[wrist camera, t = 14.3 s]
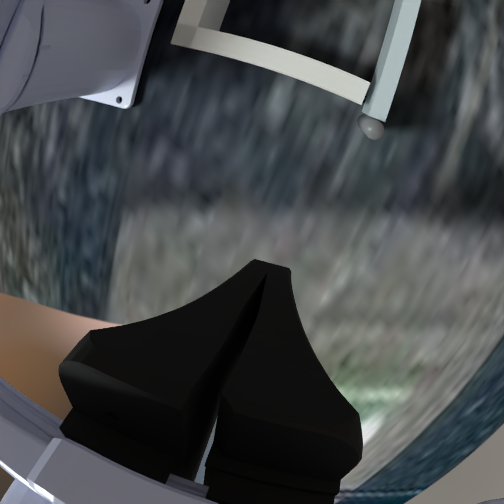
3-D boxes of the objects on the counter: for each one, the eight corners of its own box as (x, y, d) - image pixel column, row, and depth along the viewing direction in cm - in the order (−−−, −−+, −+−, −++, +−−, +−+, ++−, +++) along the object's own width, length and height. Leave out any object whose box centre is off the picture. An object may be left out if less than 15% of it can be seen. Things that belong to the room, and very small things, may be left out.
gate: (355, 126, 16) (361, 135, 13) (394, -4, 12) (409, -26, 9) (370, 132, 16) (380, 142, 13) (409, 2, 12) (427, -18, 9)
